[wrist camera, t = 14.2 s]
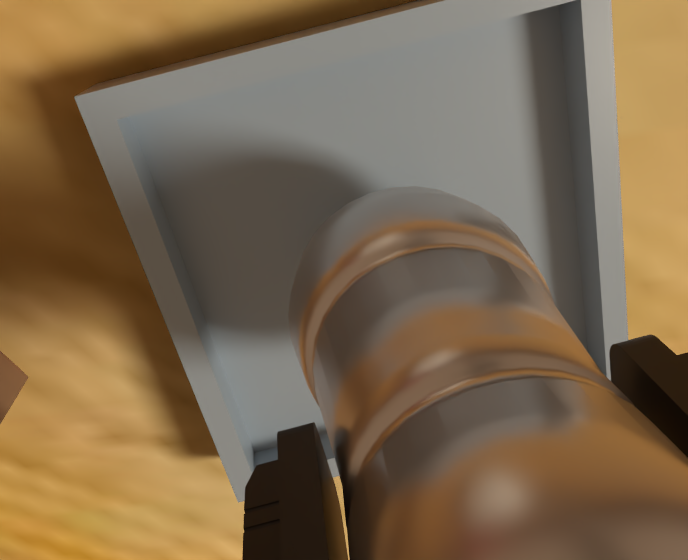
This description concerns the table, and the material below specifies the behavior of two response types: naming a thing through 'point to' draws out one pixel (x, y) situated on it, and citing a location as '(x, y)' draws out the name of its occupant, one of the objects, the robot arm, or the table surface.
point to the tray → (359, 177)
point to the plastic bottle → (470, 397)
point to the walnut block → (9, 383)
